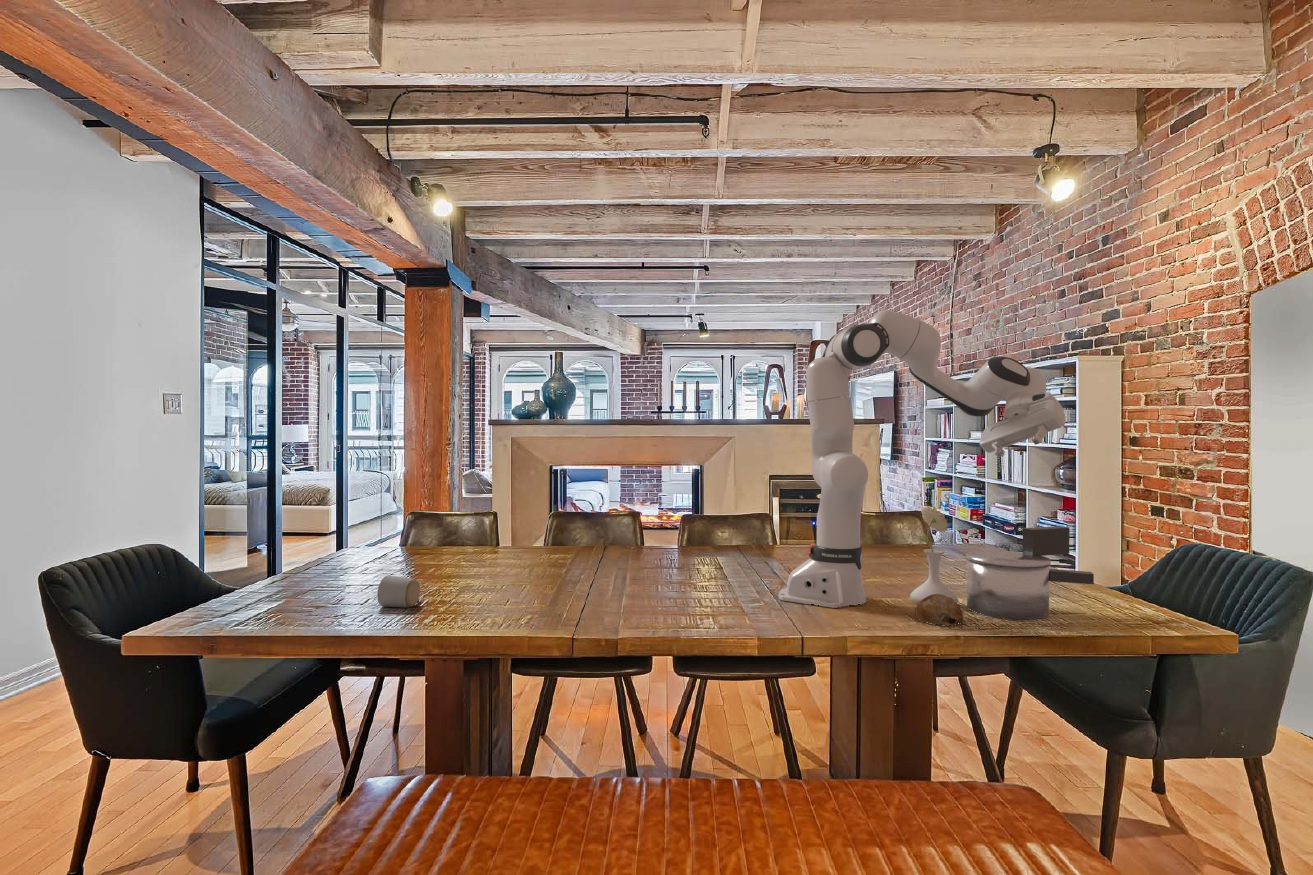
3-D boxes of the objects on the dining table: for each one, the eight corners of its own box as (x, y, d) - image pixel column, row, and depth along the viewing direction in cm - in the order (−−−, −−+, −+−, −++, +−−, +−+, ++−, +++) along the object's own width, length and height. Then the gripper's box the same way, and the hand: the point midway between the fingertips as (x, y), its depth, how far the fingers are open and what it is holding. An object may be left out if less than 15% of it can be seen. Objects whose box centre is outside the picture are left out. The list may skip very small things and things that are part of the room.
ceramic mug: (408, 610, 164) (408, 579, 165) (376, 609, 165) (376, 578, 165) (427, 601, 175) (427, 571, 175) (397, 600, 176) (397, 570, 176)
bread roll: (928, 641, 153) (938, 614, 149) (903, 612, 162) (912, 585, 158) (965, 638, 155) (975, 610, 152) (938, 609, 164) (947, 582, 161)
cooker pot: (968, 615, 161) (969, 565, 161) (964, 598, 178) (965, 553, 178) (1101, 628, 151) (1101, 574, 151) (1083, 608, 168) (1084, 560, 167)
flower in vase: (966, 610, 166) (966, 509, 165) (919, 610, 166) (920, 509, 166) (944, 597, 179) (944, 504, 178) (901, 597, 179) (901, 503, 179)
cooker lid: (1007, 570, 154) (1008, 537, 154) (949, 556, 172) (949, 526, 172) (1098, 563, 163) (1098, 532, 163) (1033, 550, 180) (1033, 522, 180)
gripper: (978, 420, 179) (970, 453, 170) (1055, 389, 164) (1051, 424, 155) (992, 436, 180) (985, 470, 172) (1070, 407, 165) (1067, 443, 156)
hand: (1017, 448), depth 163 cm, fingers open, 8 cm apart
